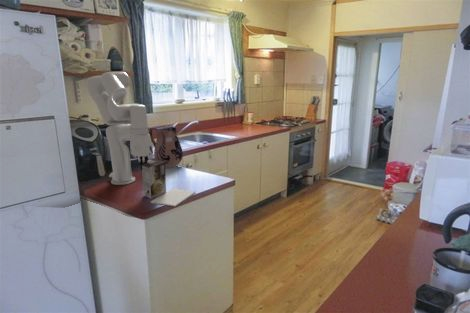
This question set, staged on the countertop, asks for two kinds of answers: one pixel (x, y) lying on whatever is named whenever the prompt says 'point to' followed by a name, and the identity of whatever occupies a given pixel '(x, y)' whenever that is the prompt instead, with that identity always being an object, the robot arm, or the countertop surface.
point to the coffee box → (153, 178)
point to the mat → (173, 197)
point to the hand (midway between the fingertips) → (144, 169)
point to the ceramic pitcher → (167, 145)
